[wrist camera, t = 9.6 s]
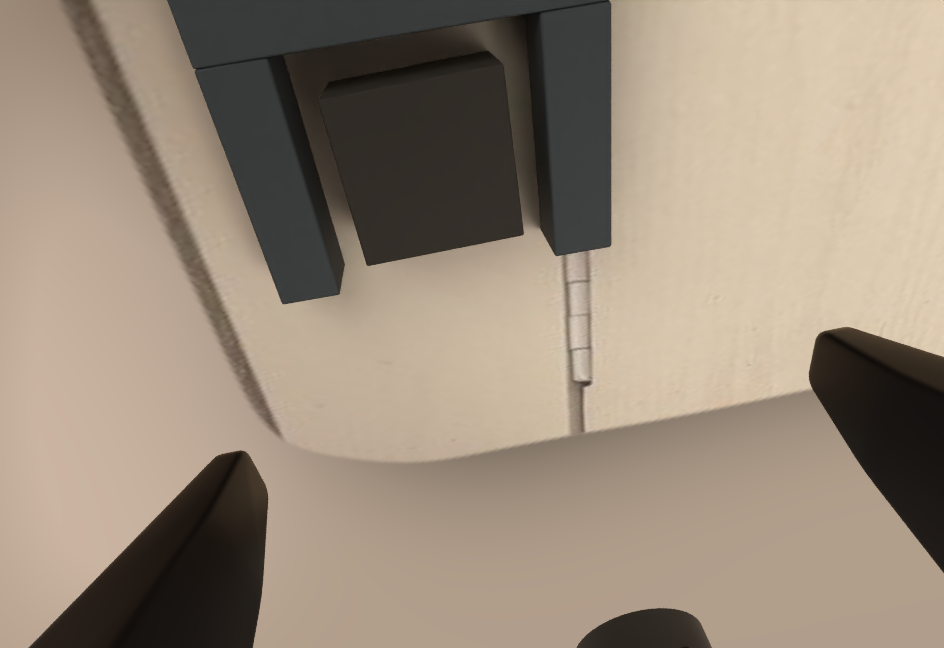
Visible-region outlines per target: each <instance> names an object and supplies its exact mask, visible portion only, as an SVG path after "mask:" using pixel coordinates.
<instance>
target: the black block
mask: <svg viewBox="0 0 944 648" xmlns="http://www.w3.org/2000/svg"><path fill="white" fill-rule="evenodd" d="M318 104H319V107H320V110H321V114H322V117H323V120H324V124H325V127H326V130H327V134H328V137H329V140H330V144H331V147H332V150H333V154H334V157H335V160H336V164H337V167H338V170H339V174H340V177H341V180H342V184H343V187H344V191H345V194H346V197H347V201H348V204H349V207H350V211H351V214H352V217H353V221H354V224H355V227H356V231H357V234H358V237H359V241H360V244H361V247H362V251H363V254H364V257H365V261H366V264H367V266H371V265H376V264H381V263H386V262H391V261H396V260H401V259H406V258H411V257H416V256H421V255H426V254H431V253H436V252H441V251H446V250H451V249H456V248H461V247H466V246H471V245H476V244H481V243H486V242H491V241H496V240H501V239H506V238H511V237H516V236H521V235H523V234H524V231H523V223H522V214H521V206H520V198H519V190H518V181H517V173H516V165H515V157H514V148H513V140H512V132H511V124H510V115H509V107H508V99H507V91H506V82H505V74H504V66H503V64H502V63H501V62H500V61H499V60H498V59H497V58H496V57H495V56H494V55H492V54H491V53H490V52H489V51H484V52H479V53H473V54H468V55H463V56H458V57H453V58H448V59H443V60H438V61H433V62H428V63H423V64H418V65H412V66H407V67H402V68H397V69H392V70H387V71H382V72H377V73H372V74H367V75H362V76H357V77H351V78H346V79H341V80H336V81H331V82H329V83H328V84H327V86H326V88H325V89H324V91H323V93H322V94H321V96H320V98H319V99H318Z"/></svg>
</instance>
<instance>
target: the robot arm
mask: <svg viewBox="0 0 944 648" xmlns="http://www.w3.org/2000/svg"><path fill="white" fill-rule="evenodd" d="M809 380H810V384H811V387H812V389H813V391H814V392H815V393H816V395H817V397H818V399H819V400H820V402H821V403H822V405H823V407H824V408H825V410H826V411H827V413H828V414H829V416H830V418H831V419H832V421H833V423H834V424H835V426H836V427H837V429H838V431H839V432H840V434H841V435H842V437H843V438H844V440H845V442H846V443H847V445H848V446H849V448H850V449H851V451H852V453H853V454H854V456H855V458H856V459H857V461H858V462H859V463H860V465H861V466H862V468H863V469H864V471H865V472H866V474H867V475H868V476H869V477H870V479H871V480H872V482H873V483H874V484H875V486H876V487H877V488H878V489H879V491H880V492H881V493H882V495H884V497H885V498H886V500H887V501H888V502H889V503H890V505H891V506H892V507H893V508H894V510H895V511H896V512H897V514H898V515H899V516H900V517H901V519H902V520H903V521H904V523H905V524H906V525H907V527H908V528H909V529H910V530H911V532H912V533H913V534H914V535H915V537H916V538H917V539H918V540H919V542H920V543H921V544H922V546H923V547H924V548H925V549H926V551H927V552H928V553H929V555H930V556H931V557H932V558H933V560H934V561H935V562H936V564H937V565H938V566H939V567H940V569H941V570H942V571H943V573H944V357H942V356H938V355H935V354H932V353H929V352H926V351H923V350H920V349H916V348H913V347H910V346H907V345H904V344H901V343H898V342H894V341H891V340H888V339H885V338H882V337H879V336H876V335H872V334H869V333H866V332H863V331H860V330H857V329H854V328H850V327H842V328H837V329H832V330H828V331H824V332H821V333H820V334H819V335H818V336H817V338H816V340H815V345H814V350H813V355H812V360H811V365H810V370H809ZM267 510H268V493H267V488H266V485H265V483H264V481H263V479H262V478H261V476H260V474H259V472H258V470H257V468H256V467H255V465H254V463H253V461H252V459H251V457H250V456H249V454H248V453H246V452H245V451H235V452H230V453H225V454H221V455H218V456H216V457H215V458H214V459H213V460H212V461H211V462H210V463H209V464H208V465H207V466H206V467H205V468H204V469H203V470H202V471H201V472H200V473H199V474H198V475H197V476H196V477H195V478H194V479H193V480H192V481H191V482H190V483H189V485H187V486H186V488H185V489H184V490H183V491H182V492H181V493H180V494H179V495H178V496H177V497H176V498H175V499H174V500H173V501H172V502H171V503H170V504H169V505H168V506H167V507H166V508H165V509H164V510H163V511H162V512H161V513H160V514H159V515H158V516H157V517H156V518H155V519H154V520H153V521H152V522H151V523H150V524H149V525H148V526H147V527H146V528H145V530H143V531H142V532H141V534H140V535H139V536H138V537H137V538H136V539H135V540H134V541H133V542H132V543H131V544H130V545H129V546H128V547H127V548H126V549H125V550H124V551H123V552H122V553H121V554H120V555H119V556H118V557H117V558H116V559H115V560H114V561H113V562H112V563H111V564H110V565H109V566H108V567H107V568H106V569H105V570H104V571H103V572H102V573H101V574H100V576H98V578H96V580H95V581H94V582H93V583H92V584H91V585H90V586H89V587H88V588H87V589H86V590H85V591H84V592H83V593H82V594H81V595H80V596H79V597H78V598H77V599H76V600H75V601H74V602H73V603H72V604H71V605H70V606H69V607H68V608H67V609H66V610H65V611H64V612H63V613H62V614H61V615H60V616H59V617H58V618H57V619H56V620H55V621H54V622H53V624H51V625H50V627H49V628H48V629H47V630H46V631H45V632H44V633H43V634H42V635H41V636H40V637H39V638H38V639H37V640H36V641H35V642H34V643H33V644H32V645H31V646H30V647H29V648H253V643H254V637H255V632H256V626H257V620H258V615H259V609H260V602H261V596H262V586H263V574H264V573H263V572H264V558H265V542H266V525H267ZM681 648H691V647H689V646H685V647H681Z"/></svg>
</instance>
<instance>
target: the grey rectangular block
mask: <svg viewBox="0 0 944 648" xmlns="http://www.w3.org/2000/svg"><path fill="white" fill-rule="evenodd" d="M167 1H168V4H169V6H170V9H171V11H172V14H173V17H174V19H175V22H176V25H177V27H178V30H179V33H180V35H181V38H182V41H183V43H184V46H185V48H186V51H187V54H188V56H189V59H190V62H191V64H192V67H193V68H194V69H196V70H195V74H196V77H197V80H198V82H199V85H200V88H201V90H202V93H203V96H204V98H205V101H206V103H207V106H208V109H209V111H210V114H211V117H212V119H213V122H214V125H215V127H216V130H217V133H218V135H219V138H220V141H221V143H222V146H223V148H224V151H225V154H226V156H227V159H228V162H229V164H230V167H231V170H232V172H233V175H234V178H235V180H236V183H237V186H238V188H239V191H240V193H241V196H242V199H243V201H244V204H245V207H246V209H247V212H248V215H249V217H250V220H251V223H252V225H253V228H254V231H255V233H256V236H257V238H258V241H259V244H260V246H261V249H262V252H263V254H264V257H265V260H266V262H267V265H268V268H269V270H270V273H271V275H272V278H273V281H274V283H275V286H276V289H277V291H278V294H279V297H280V299H281V302H282V304H288V303H294V302H300V301H305V300H311V299H317V298H323V297H328V296H334V295H338V294H340V289H341V283H342V277H343V271H344V266H345V264H344V260H343V257H342V253H341V250H340V247H339V243H338V240H337V236H336V233H335V230H334V226H333V223H332V219H331V216H330V212H329V209H328V206H327V202H326V199H325V195H324V192H323V189H322V185H321V182H320V178H319V175H318V171H317V168H316V165H315V161H314V158H313V154H312V151H311V148H310V144H309V141H308V137H307V134H306V130H305V127H304V124H303V120H302V117H301V113H300V110H299V107H298V103H297V100H296V96H295V93H294V90H293V86H292V83H291V79H290V76H289V72H288V69H287V66H286V62H285V59H284V54H290V53H296V52H302V51H308V50H314V49H320V48H327V47H333V46H339V45H345V44H351V43H357V42H363V41H369V40H375V39H381V38H387V37H393V36H399V35H405V34H411V33H417V32H423V31H429V30H435V29H441V28H447V27H453V26H459V25H465V24H471V23H477V22H483V21H489V20H495V19H501V18H507V17H513V16H519V15H525V21H526V34H527V48H528V61H529V75H530V88H531V101H532V115H533V128H534V142H535V155H536V169H537V182H538V195H539V209H540V222H541V231H542V232H543V234H544V236H545V238H546V240H547V242H548V243H549V245H550V247H551V249H552V251H553V252H554V254H555V255H556V256H560V255H566V254H572V253H577V252H583V251H589V250H594V249H600V248H606V247H610V246H611V3H610V1H609V0H167Z"/></svg>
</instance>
